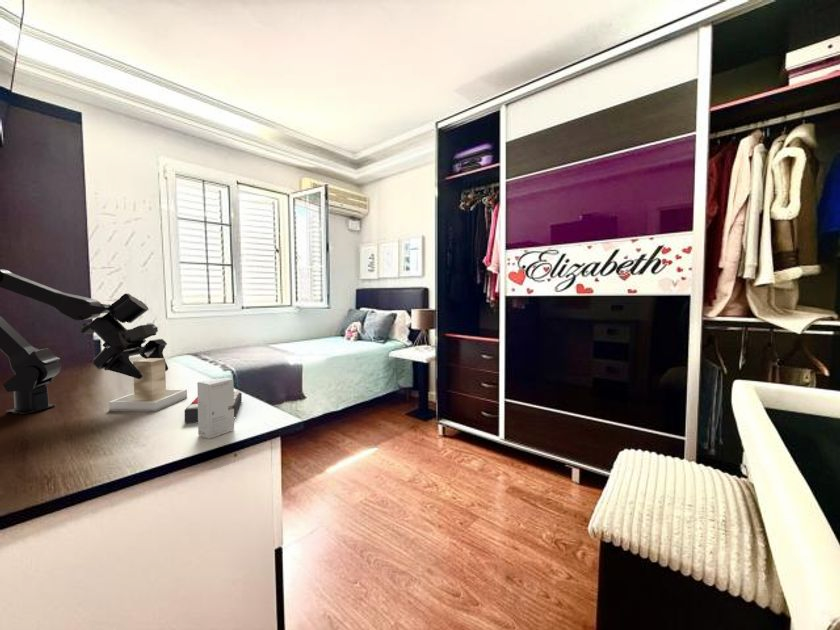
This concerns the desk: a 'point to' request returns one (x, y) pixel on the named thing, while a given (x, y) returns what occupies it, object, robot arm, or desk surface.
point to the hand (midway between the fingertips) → (154, 373)
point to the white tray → (131, 405)
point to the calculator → (192, 409)
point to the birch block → (150, 380)
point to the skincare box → (215, 407)
